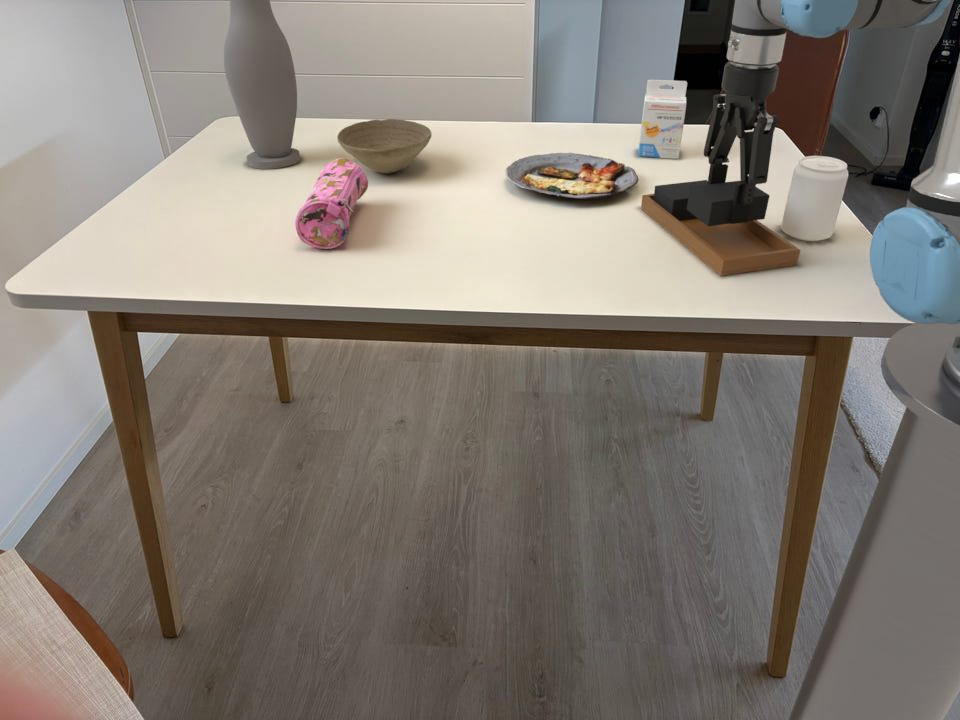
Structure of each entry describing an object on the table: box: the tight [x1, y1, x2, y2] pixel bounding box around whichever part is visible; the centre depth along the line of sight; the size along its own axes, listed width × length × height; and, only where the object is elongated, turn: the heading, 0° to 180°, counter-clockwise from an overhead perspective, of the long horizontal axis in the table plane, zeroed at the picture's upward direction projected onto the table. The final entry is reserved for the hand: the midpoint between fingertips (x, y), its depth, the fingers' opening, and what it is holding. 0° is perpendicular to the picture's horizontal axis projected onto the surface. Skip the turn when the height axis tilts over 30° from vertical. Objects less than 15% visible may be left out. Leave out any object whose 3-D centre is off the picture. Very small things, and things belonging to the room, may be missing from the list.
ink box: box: [638, 79, 688, 160], centre depth 156 cm, size 8×5×15 cm, turn 78°
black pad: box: [687, 180, 770, 226], centre depth 120 cm, size 7×10×4 cm
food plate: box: [505, 152, 639, 200], centre depth 145 cm, size 25×23×4 cm
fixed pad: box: [653, 179, 708, 221], centre depth 131 cm, size 7×10×4 cm
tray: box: [640, 193, 801, 277], centre depth 125 cm, size 28×13×3 cm, turn 15°
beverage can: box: [780, 155, 849, 242], centre depth 122 cm, size 8×8×12 cm
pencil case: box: [294, 157, 369, 250], centre depth 128 cm, size 21×9×9 cm, turn 179°
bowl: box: [336, 118, 432, 174], centre depth 151 cm, size 18×18×8 cm
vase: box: [223, 0, 301, 170], centre depth 150 cm, size 13×13×35 cm
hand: (725, 212), depth 121 cm, fingers closed on black pad, 7 cm apart
